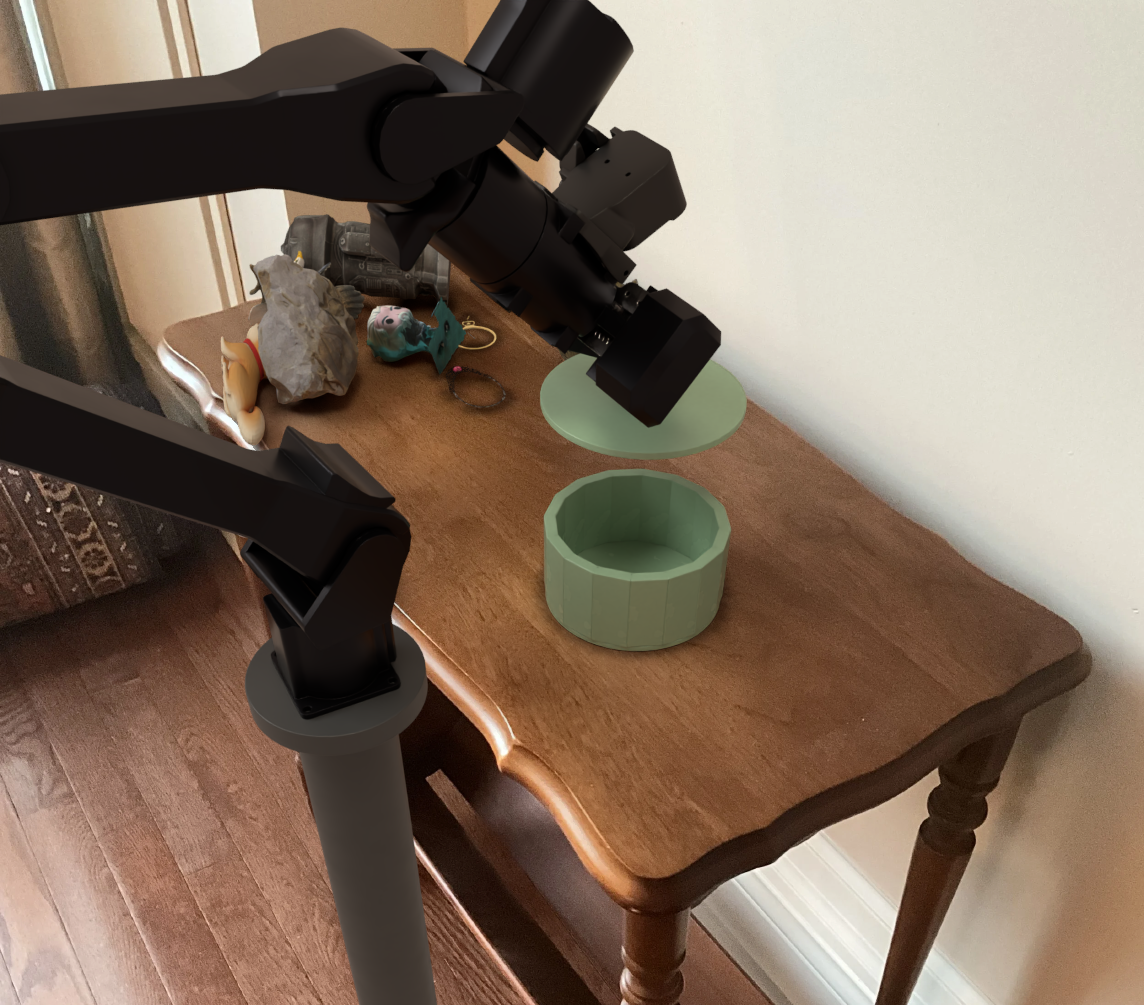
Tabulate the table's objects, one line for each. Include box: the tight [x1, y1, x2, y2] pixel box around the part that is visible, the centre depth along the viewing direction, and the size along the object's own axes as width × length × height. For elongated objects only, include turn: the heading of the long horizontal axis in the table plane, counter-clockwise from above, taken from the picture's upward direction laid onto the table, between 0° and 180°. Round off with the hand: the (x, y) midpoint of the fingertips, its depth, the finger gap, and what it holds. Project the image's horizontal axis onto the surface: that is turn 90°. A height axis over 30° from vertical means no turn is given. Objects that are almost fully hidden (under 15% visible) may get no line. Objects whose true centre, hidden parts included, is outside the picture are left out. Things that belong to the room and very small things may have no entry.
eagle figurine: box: [247, 251, 365, 327], centre depth 102 cm, size 8×7×9 cm
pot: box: [543, 468, 732, 652], centre depth 78 cm, size 12×12×6 cm
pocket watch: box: [458, 315, 497, 350], centre depth 104 cm, size 6×4×1 cm, turn 14°
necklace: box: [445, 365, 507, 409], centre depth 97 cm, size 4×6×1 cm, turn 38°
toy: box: [219, 324, 268, 446], centre depth 95 cm, size 3×17×5 cm
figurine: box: [366, 297, 467, 375], centre depth 98 cm, size 12×9×8 cm
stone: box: [253, 254, 359, 405], centre depth 94 cm, size 11×7×10 cm
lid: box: [539, 354, 748, 461], centre depth 72 cm, size 13×13×6 cm
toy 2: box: [280, 214, 452, 307], centre depth 104 cm, size 8×6×15 cm
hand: (662, 371), depth 73 cm, fingers closed on lid, 2 cm apart
